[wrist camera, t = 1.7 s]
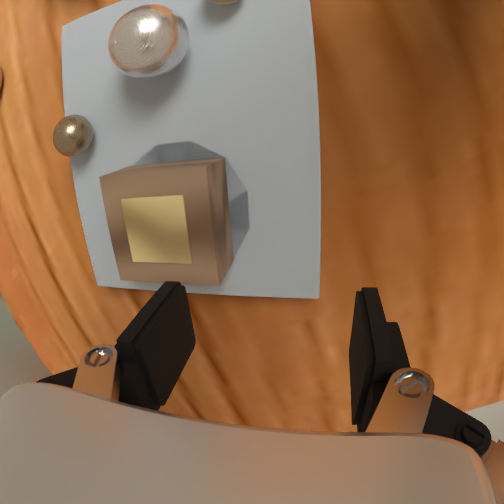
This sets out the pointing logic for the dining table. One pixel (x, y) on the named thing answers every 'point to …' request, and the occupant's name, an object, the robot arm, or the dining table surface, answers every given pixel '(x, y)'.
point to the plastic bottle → (0, 77)
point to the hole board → (211, 133)
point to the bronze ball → (73, 135)
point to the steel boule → (148, 41)
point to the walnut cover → (170, 221)
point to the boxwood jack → (223, 1)
